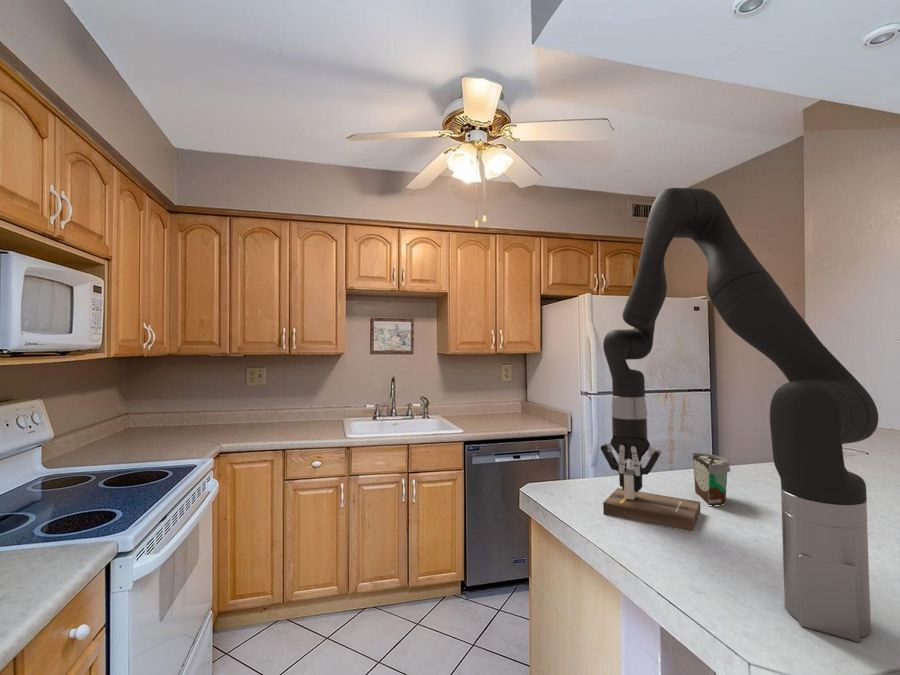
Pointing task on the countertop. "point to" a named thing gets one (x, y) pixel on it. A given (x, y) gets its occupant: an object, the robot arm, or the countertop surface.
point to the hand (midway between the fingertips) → (631, 489)
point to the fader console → (654, 509)
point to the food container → (710, 477)
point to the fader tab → (629, 484)
